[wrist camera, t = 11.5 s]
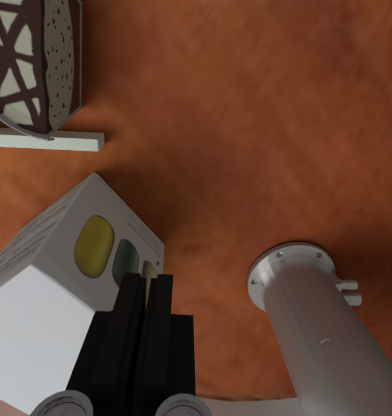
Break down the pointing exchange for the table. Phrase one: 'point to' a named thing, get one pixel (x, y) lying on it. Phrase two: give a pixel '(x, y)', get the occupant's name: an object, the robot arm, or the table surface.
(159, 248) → the supplement box
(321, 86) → the table surface
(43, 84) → the food container
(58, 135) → the bay
